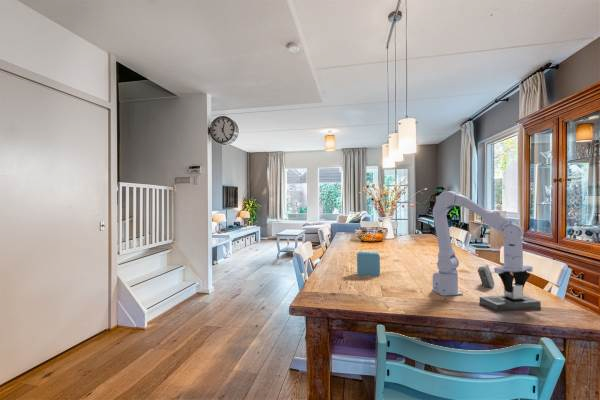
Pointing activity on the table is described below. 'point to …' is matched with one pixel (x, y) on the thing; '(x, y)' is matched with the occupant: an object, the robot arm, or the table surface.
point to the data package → (368, 263)
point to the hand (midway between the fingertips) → (513, 291)
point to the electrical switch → (486, 276)
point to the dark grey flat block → (509, 303)
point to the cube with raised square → (515, 291)
